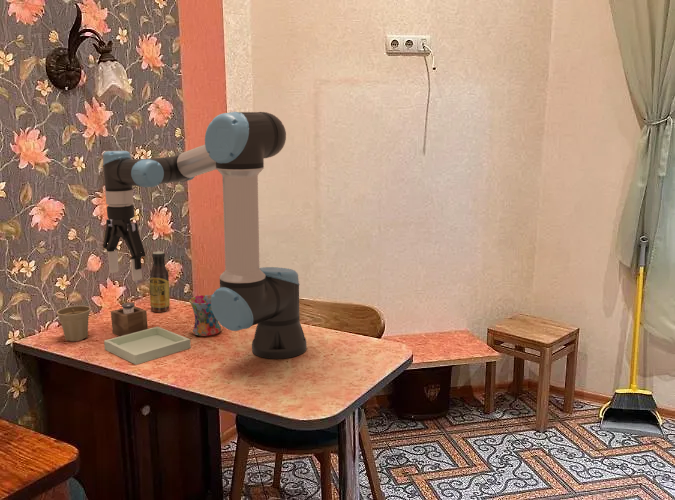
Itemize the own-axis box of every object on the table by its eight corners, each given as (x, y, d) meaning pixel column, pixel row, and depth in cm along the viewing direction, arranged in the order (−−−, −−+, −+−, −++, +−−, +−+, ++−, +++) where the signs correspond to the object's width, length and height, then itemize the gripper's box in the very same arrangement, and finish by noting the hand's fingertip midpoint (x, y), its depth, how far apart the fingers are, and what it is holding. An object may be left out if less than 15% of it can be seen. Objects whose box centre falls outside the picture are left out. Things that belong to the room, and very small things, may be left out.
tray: (190, 348, 186) (190, 339, 186) (135, 364, 175) (135, 355, 174) (158, 334, 198) (157, 326, 198) (104, 349, 186) (104, 340, 186)
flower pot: (53, 338, 196) (50, 310, 194) (84, 330, 203) (81, 303, 201) (68, 345, 190) (65, 316, 188) (99, 337, 196) (96, 309, 194)
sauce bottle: (147, 312, 220) (143, 254, 216) (155, 307, 226) (151, 250, 222) (166, 313, 219) (162, 254, 215) (173, 307, 225) (170, 250, 221)
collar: (148, 332, 200) (146, 310, 198) (125, 339, 194) (123, 316, 193) (135, 327, 205) (133, 305, 203) (112, 333, 200) (110, 311, 198)
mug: (206, 340, 193) (204, 305, 190) (184, 334, 198) (182, 300, 196) (235, 329, 202) (234, 295, 200) (213, 324, 207) (212, 291, 205)
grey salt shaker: (138, 333, 200) (136, 304, 198) (127, 336, 197) (125, 306, 195) (132, 330, 202) (130, 301, 200) (121, 333, 200) (119, 304, 198)
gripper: (154, 207, 186) (159, 280, 190) (111, 199, 203) (116, 267, 207) (130, 210, 181) (135, 285, 185) (87, 202, 198) (93, 271, 202)
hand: (125, 276), depth 196 cm, fingers open, 13 cm apart
